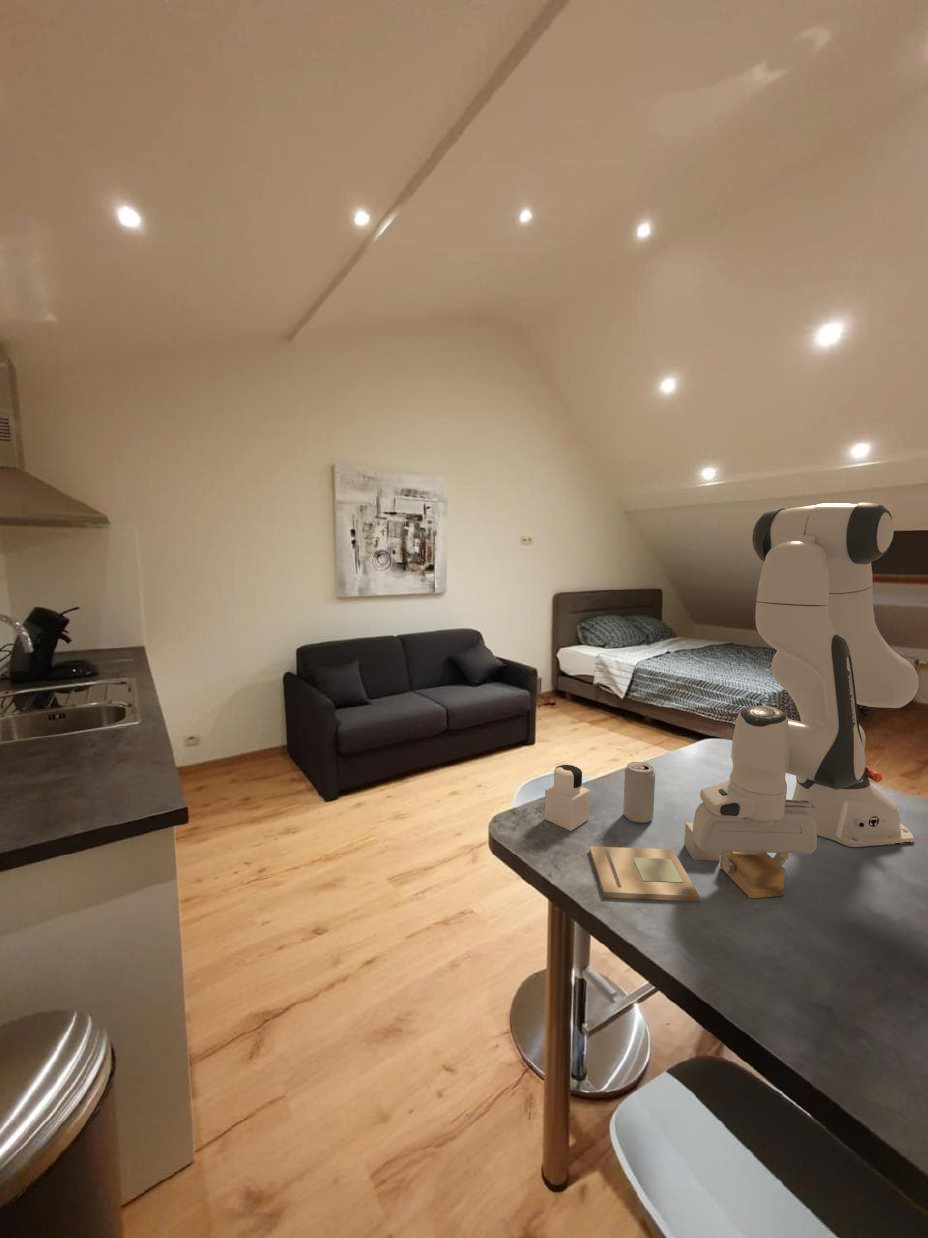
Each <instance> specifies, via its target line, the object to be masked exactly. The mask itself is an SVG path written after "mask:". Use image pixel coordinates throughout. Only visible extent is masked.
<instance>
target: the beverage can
mask: <svg viewBox="0 0 928 1238" xmlns="http://www.w3.org/2000/svg"><path fill="white" fill-rule="evenodd" d="M623 783H624V784H623V785H624V786H623V807H622V808H623V811H622V813H623V816H624V817H626V819H627V820H628V821H630V822H633V823H637V824H646V823H649V822H650V821H652V820H653V818H654V809H655V791H656V790H655V789H656V773H655V769H654V766H653V765H651V764H649V763H646V762H643V761H642V762H641V761H632V762H628V763H627V764H626V768H625V769H624V781H623Z"/></svg>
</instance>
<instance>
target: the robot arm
mask: <svg viewBox="0 0 928 1238" xmlns="http://www.w3.org/2000/svg"><path fill="white" fill-rule="evenodd" d="M894 531H895V526H894V522H893V516H892V514H891V512H890V511H889V510H888V509H887V508H886V507H885V506H884V505H883V504H879V503H873V502H859V503H840V502H839V503H833V502H831V503H818V504H816V505H806V506H798V507H792V508H788V509H787V508H778V509H777V508H776V509H773V510H770V511H766V512H764V513H763V514H762V515H761V516H760V517H759V518H758V520H757V521H756V522H755V525H754V527H753V530H752V539H751V540H752V541H751V543H752V547H753V550H754V552H755V553H756V555H757V557H758V558H759V560H761V561H762V562H763V563H762V564H763V565H762V568H761V571H760V576H759V581H758V585H757V586H758V587H757V593H756V603H755V628H756V630H757V632H758V634H759V636H760V637H761V638H762V639H763V641H765V643H766V644H767V645H768V646H770V647H772V648H773V649H774V650H775V651H776V653H775V654H774V655H773V658H772V661H771V673H772V676H773V678H774V679H775V681H776V682H777V684H778V685H779V686H781V687H782V688H783V689H784V690H785V691H786V692H787V694H788V695H789V697H790V698H791V699H792V701H793V704H794V705H795V707H796V709H797V712H798V714H799V715H798V716H799V719H800V721H799V720H795V719H794V720H793V719H791V718H789V717H788V716H787V714H786V713H785V712H784V711H782V710H781V709H779V708H776V707H772V706H768V705H751V706H748V707H745V708H742V709H740V711H739V712H738V715H737V717H736V721H735V726H734V730H733V734H732V742H731V750H730V751H731V753H730V754H731V755H730V757H731V760H732V770H731V772H730V775H729V780H726V781H723V782H721V783H719V784H715V785H711V786H708V787H704V788H702V789H700V792H699V797H700V799H701V801H702V802H700V804H698V805H697V807H696V809H695V812H694V817H693V822H692V823H693V831H692V835H693V839H694V841H695V842H696V844H697V845H698V846H699V847H700V848H701V849H702V850H703V851H718V852H719V854H720V858H721V857H722V859H723V869H724V870H723V869H722V870H723V871H724V873H725V872H726V873H735V870H734V869H735V866H736V865H735V863H734V862H733V861H732V859H728V858H727V856H730V851H731V852H763V853H767V854H769V853H771V854H772V853H773V854H775V855H774V856H773V857H772V858H773V859H774V860H775V861H777V862H778V863H779V864H780V865H781V866H782V867H783V865H784V864H785V863H786V861H787V860H788V859H789V856H790V855H789V854H798V855H801V854H804V855H811V854H814V852H815V851H816V850H817V849H818V848H817V846H818V842H817V841H818V836H819V837H822V838H825V839H829V840H832V841H834V842H837V843H839V844H842V845H844V846H846V847H850V848H860V847H861V848H863V847H873V846H884V845H886V844H887V846H889V845H896V844H895V843H900V844H904V843H903V842H911V841H914V835H913V833H912V832H911V831H910V830H909V828H907V827H906V826H905V825H904V824H902V823H901V816H900V812H899V810H898V807H897V806H896V804H895V803H894V802H893V801H892V800H891V799H890V798H888V797H887V796H886V795H885V794H883V793H882V792H881V791H880V790H879V789H878V788H876V787H875V786H874V785H873V784H871V781H870V779H871V780H872V782H874V783H880V782H881V781H883V779H884V776H883V775H882V773H880V772H878V771H876V770H875V769H869V768H868V767H866V755H865V747H866V738H867V737H866V734H865V731H864V729H863V728H862V726H861V725H860V722H859V714H858V712H859V711H858V705H861V706H866V707H870V708H883V709H884V708H888V709H889V708H890V709H892V708H893V709H900V708H902V707H905V706H906V705H908V704H909V703H911V701H912V700H913V699H914V698H915V697H916V695H917V692H918V690H919V687H920V686H919V684H920V683H919V682H920V681H919V680H920V679H919V675H918V673H917V670H916V669H915V667H914V666H913V664H911V662H910V661H909V660H907V659H905V658H904V657H902V656H901V655H899V654H898V653H897V652H896V651H895V650H894V649H893V648H891V646H890V645H889V644H888V643H887V642H886V641H885V639H884V637H883V636H882V635H881V633H880V631H879V628H878V626H877V623H876V621H875V619H876V618H875V612H874V600H873V599H874V598H873V593H874V592H873V589H874V588H873V587H874V585H873V584H874V583H873V569H872V562H875V561H878V560H879V559H880V558H881V557H883V556H884V555H885V554H886V553H887V552H888V550H889V549H890V547H891V543H892V541H893V538H894V534H895V533H894ZM786 774H789V775H793V776H795V777H796V778H795V781H796V783H795V787H794V791H793V795H792V799H787V791H788V784H787V782H786ZM901 842H902V843H901ZM911 843H912V842H911ZM726 873H725V874H726Z"/></svg>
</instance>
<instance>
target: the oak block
mask: <svg viewBox="0 0 928 1238" xmlns="http://www.w3.org/2000/svg"><path fill="white" fill-rule="evenodd" d="M727 858H728V859H732V861H733V862H734V863H735V865H736V866H735V869H734V870H735V873H726V872H725V871H724V869H723V859H722V857H721V856H720V860H719V861H720V863H719V867H720V868H721V870H722V871H724V873H725V874H727V876H728V877H729V878H730V879H731V880H732V881H733V882H734V883H735V884H736V885H737V886H738V887H739V888H740V889H741V890H742V891H743V893H745V894H746V896H747V897H748V898H749V899H760V898H761V899H762V898H771V897H775V898H776V897H784V889H785V878H786V877H785V876H786V868H785V867H783V865H782V866H781V865H780V864H779V863H778V862H777V861H775V860H774V859H773V858H774V857H773V856H771V855H770V854H769V853H763V852H731V851H730V856H727Z"/></svg>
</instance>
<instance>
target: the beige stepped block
mask: <svg viewBox="0 0 928 1238" xmlns="http://www.w3.org/2000/svg"><path fill="white" fill-rule="evenodd" d="M544 793H545V794H544V820H545V821H548V822H550V823H552V824H553V825H557V826H559V827H561V828H563V829H565V830H567V831H570V832H572V831H573V830H575V829H576V828H578V827H579V826H582V825H583V824H584V823H585V822H587V821H589V819H590V799H591V797H590V796H591V791H590V789H589V788H586V787H584V786H583V771H582V770H581V769H580V768H579V767H578V766H575V765H572V764H561V765H557V766H556V767H555V768H554V770H553V785H552V786H550V787H548V788H546V789H545V792H544Z"/></svg>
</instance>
